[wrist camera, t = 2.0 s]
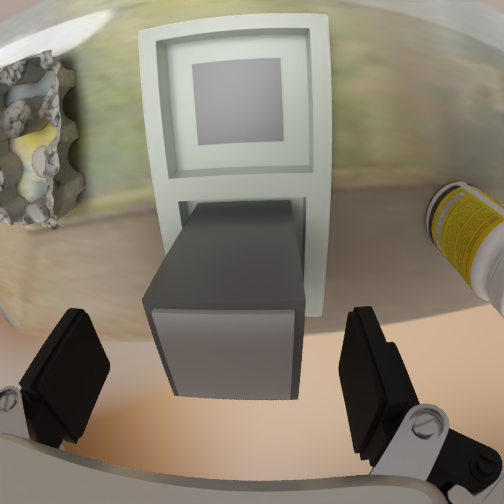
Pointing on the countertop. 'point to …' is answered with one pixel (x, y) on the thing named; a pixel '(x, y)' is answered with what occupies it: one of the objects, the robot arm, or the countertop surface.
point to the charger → (231, 303)
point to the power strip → (243, 123)
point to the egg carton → (44, 158)
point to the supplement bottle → (471, 237)
